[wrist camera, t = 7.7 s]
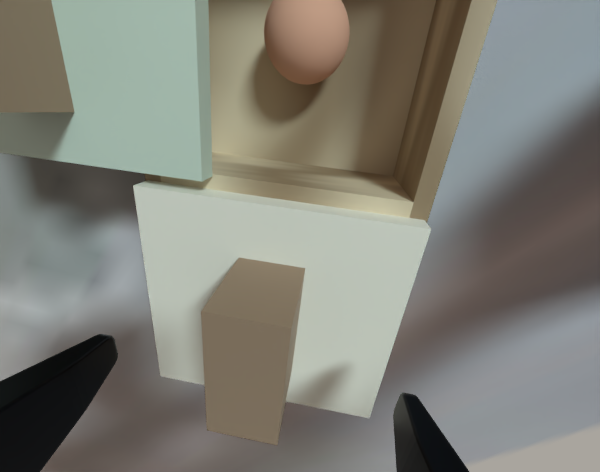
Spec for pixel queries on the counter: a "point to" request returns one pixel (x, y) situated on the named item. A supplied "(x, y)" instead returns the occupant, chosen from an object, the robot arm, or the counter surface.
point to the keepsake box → (343, 106)
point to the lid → (274, 300)
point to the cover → (108, 84)
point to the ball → (306, 38)
